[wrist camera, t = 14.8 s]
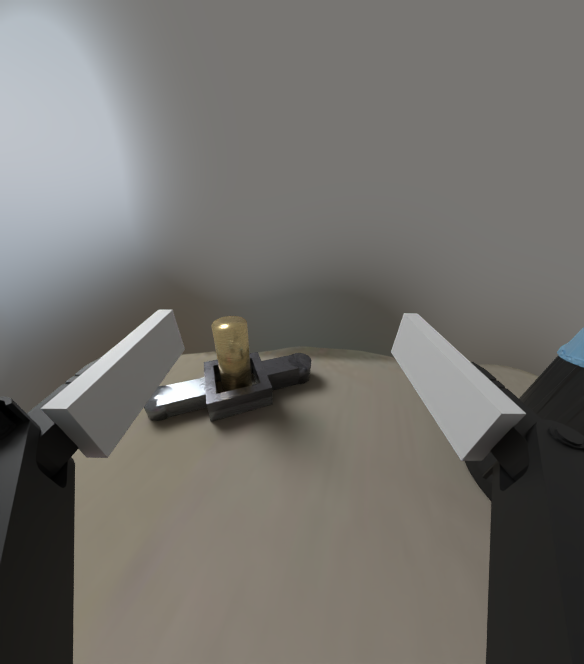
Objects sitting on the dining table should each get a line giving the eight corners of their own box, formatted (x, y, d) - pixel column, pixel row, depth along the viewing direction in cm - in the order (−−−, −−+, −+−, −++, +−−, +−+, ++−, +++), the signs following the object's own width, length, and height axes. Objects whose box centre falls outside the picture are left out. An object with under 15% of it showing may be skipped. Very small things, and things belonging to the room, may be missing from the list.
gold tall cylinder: (249, 378, 41) (243, 314, 34) (254, 397, 37) (250, 329, 30) (222, 384, 40) (210, 318, 32) (225, 405, 36) (212, 335, 28)
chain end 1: (258, 367, 44) (257, 355, 43) (272, 404, 36) (272, 391, 35) (152, 390, 38) (147, 377, 36) (141, 440, 30) (134, 427, 28)
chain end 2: (298, 358, 47) (300, 343, 45) (319, 390, 39) (322, 374, 37) (207, 378, 41) (203, 362, 39) (210, 421, 33) (206, 404, 31)
